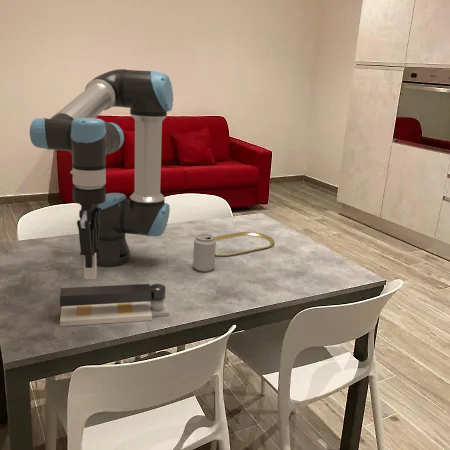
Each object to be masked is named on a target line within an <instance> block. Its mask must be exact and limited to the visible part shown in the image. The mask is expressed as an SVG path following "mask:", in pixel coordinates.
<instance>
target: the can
mask: <svg viewBox="0 0 450 450" xmlns="http://www.w3.org/2000/svg"><path fill="white" fill-rule="evenodd" d="M214 237H215V236H214V235H212V234H210V233H209V234H208V233H200V234H197V235H196V236H195V239H194V241H193V257H192V258H193V259H192V260H193V261H192V267H193V269H195V270H196V271H198V272H203V273H204V272H205V273H206V272H208V273H209V272H211V271H212V270H214V269H215V261H216V260H215V258H216V256H215V254H216V245H217V241H215V239H214Z"/></svg>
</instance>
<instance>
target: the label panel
mask: <svg viewBox="0 0 450 450" xmlns="http://www.w3.org/2000/svg"><path fill="white" fill-rule="evenodd" d="M164 299H165V298H164ZM164 299H163V300H152V299H151V301H149V302H131V303H113V304H96V305H78V306H61V309H60V318H59V319H60V320H59V327H70V326H84V325H99V324H101V325H102V324H114V323H116V324H117V323H130V322H144V321H146V322H147V321H153V317H165V316H170V311H169V307H168V304H167V302H165V301H164Z"/></svg>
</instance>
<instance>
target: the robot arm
mask: <svg viewBox="0 0 450 450" xmlns="http://www.w3.org/2000/svg"><path fill="white" fill-rule="evenodd" d="M172 85H173V84H172V81H171V79H170V77H169V75H167V73H165V72H161V71H154V70H135V69H125V68H123V69H121V68H119V69H117V68H116V69H113V70H110V71H107V72H104V73H102V74H99V75H98V76H96V77H94V78H93V79H91V80H89V82H88V83H87V84H86V85H85V88H84V90H83V91H82V92H81V93H80V94H78V95H77V96H76V97H75V98H74V99H72V100H70V102H69V103H67V104H66V105H65V106H64V107H62V109H60V110H58V112H56V113H55V114H54V115H53V116H51V118H46V117H43V118H41V117H40V118H39V117H37V118H35V119H33V120H32V121H31V124H30V126H29V137H30V142H31V145H33V146H34V147H35V148H38V149H45V150H48V151H49V150H51V151H52V150H54V151H65V152H66V151H67V152H71V158H72V161H71V168H72V170H70V173H69V174H71V175H72V184H73V186H72V200H73V202H74V203H75V204H79V206H80V209H79V211H78V212H79V213H78V215H79V217H78V218H79V219H78V220H77V221H76V224H77V225H76V226H77V229H78V238H79V246H80V247H79V250H80V253H79V255H80V256H83V278H84V280H85V279H87V280H96V279H97V276H98V275H97V274H98V273H97V270H98V268H97V267H98V266H99V267H116V266H120V265H121V266H122V265H124V264H126V263H128V262H129V261H130V260H131V251H130V248H129V245H128V242H127V239H126V235H127V234H129V235H138V236H146V237H161V236H162V235H163V234H164V233H165V230H166V228H167V225H168V222H169V217H170V211H171V207H170V204H169V203H167V202H165V196H164V195H163V194H162V193H161V178H162V176H161V173H162V135H163V133H162V132H163V121H164V120H165V119H166V118H167V116H168V112H172V110H173V106H174V104H173V102H174V93H173V92H174V91H173V86H172ZM115 107H116V108H126V109H127V108H128V109H129V112H130V113H129V114H130V116H131V117H132V118H133V119H134V191H133V193H132V194H131V195H129V199H127V197H126V194H124V193H120V192H110V193H109V192H108V193H106V191H107V190H106V189H107V188H106V186H105V185H106V184H107V176H106V175H107V172H106V171H107V170H106V168H107V167H106V162H107V161H106V156H107V155H110V154H113V153H115V152H117V151H118V150H119V149H121V147H122V146H123V144H124V141H125V136H124V131H123V129H122V128H121V127H120V125H118V124H116V123H114V122H109V121H108V122H106V121H105V120H103V119H101V118H97V117H98V116H99V115H100V114H102V112H103V111H108V110H109V109H111V108H115Z"/></svg>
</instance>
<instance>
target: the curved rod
mask: <svg viewBox="0 0 450 450" xmlns="http://www.w3.org/2000/svg"><path fill="white" fill-rule="evenodd" d="M245 236H249V237H257V238H261V239H264V240H267V241H268V242H269V245H268V246H263V247H257V248H253V249H248V250H244V251H243V250H242V251H239V252H234V253H227V254H226V253H225V254H224V253H223V254H221V253H215V257H231V256H232V257H233V256H236V255H237V256H238V255H241V254H246V253H252V252H255V251H256V252H257V251H260V250H266V249H269V248H271V247H273V246H274V244H275V239H274V238H273V237H272V236H269V235H266V234H264V233H260V232H253V231H239V232H235V233H228V234H222V235H217V236H214V239H215V241H216V242H217V241H220V240H221V241H222V240H227V239H232V238H237V237H245Z"/></svg>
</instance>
